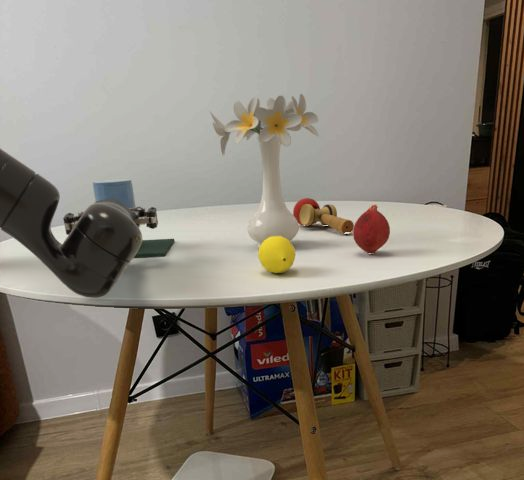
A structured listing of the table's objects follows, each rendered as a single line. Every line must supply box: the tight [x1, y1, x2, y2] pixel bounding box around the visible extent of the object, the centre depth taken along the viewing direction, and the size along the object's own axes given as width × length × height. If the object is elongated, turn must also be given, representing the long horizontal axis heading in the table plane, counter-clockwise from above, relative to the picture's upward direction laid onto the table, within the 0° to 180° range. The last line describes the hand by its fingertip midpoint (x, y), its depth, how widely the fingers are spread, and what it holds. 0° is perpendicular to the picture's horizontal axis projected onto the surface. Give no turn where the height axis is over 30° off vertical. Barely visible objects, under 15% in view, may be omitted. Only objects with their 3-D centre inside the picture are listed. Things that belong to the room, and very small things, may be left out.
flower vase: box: [209, 93, 319, 249], centre depth 87 cm, size 13×18×25 cm
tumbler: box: [92, 178, 136, 207], centre depth 93 cm, size 7×7×12 cm
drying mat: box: [133, 238, 175, 259], centre depth 95 cm, size 18×14×1 cm
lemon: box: [257, 236, 296, 274], centre depth 73 cm, size 7×5×5 cm
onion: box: [352, 203, 391, 254], centre depth 81 cm, size 6×6×8 cm
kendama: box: [292, 197, 355, 234], centre depth 106 cm, size 8×6×18 cm
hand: (114, 214), depth 86 cm, fingers open, 8 cm apart
